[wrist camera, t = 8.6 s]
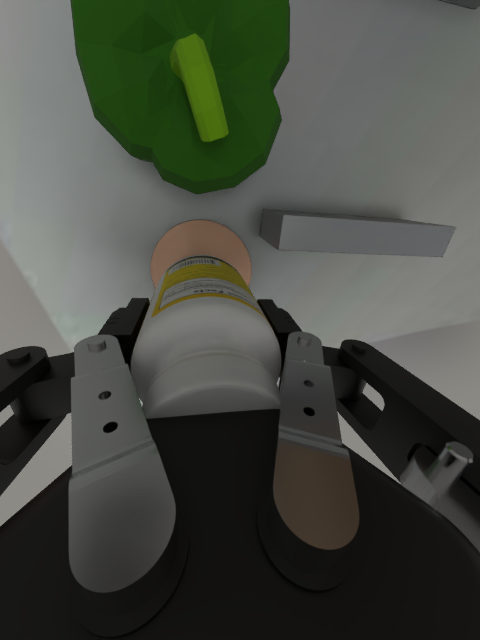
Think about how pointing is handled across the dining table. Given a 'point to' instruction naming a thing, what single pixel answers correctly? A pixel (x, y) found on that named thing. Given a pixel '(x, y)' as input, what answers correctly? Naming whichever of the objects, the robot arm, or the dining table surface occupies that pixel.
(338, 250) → the rails
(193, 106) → the bell pepper
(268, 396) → the supplement bottle
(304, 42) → the dining table surface
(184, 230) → the coaster
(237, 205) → the dining table surface
